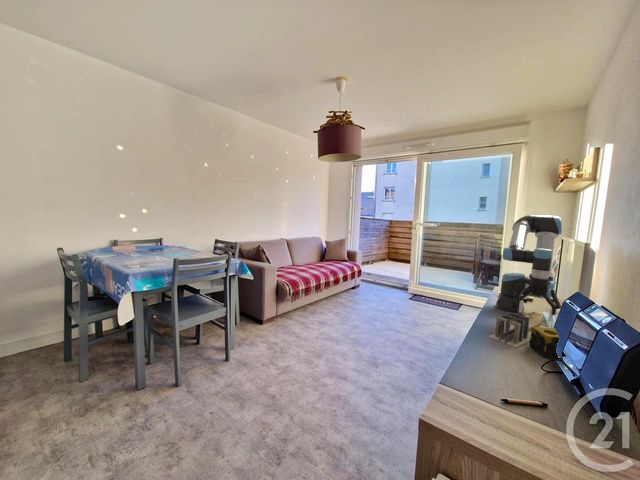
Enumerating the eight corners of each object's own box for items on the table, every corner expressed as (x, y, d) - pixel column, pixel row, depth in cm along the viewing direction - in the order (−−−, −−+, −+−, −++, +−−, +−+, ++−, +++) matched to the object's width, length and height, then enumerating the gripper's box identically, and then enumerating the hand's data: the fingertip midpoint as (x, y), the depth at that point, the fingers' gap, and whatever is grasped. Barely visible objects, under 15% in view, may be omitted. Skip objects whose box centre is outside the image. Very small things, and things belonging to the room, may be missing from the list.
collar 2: (505, 332, 142) (507, 311, 141) (527, 340, 134) (529, 318, 133) (504, 332, 141) (507, 312, 140) (526, 340, 133) (528, 318, 132)
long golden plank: (531, 319, 153) (532, 311, 152) (541, 322, 149) (542, 314, 148) (513, 327, 141) (514, 318, 140) (524, 330, 137) (525, 322, 136)
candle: (551, 348, 126) (554, 327, 125) (569, 360, 116) (572, 337, 115) (528, 346, 127) (530, 326, 126) (543, 358, 117) (546, 335, 116)
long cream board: (524, 321, 157) (525, 316, 157) (550, 329, 147) (551, 324, 147) (489, 337, 135) (490, 331, 135) (517, 348, 125) (517, 341, 125)
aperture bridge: (497, 336, 137) (499, 316, 135) (518, 344, 129) (520, 323, 128) (494, 337, 135) (496, 317, 134) (515, 345, 128) (518, 324, 127)
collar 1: (499, 334, 139) (502, 313, 137) (521, 342, 131) (524, 320, 129) (498, 335, 138) (501, 314, 137) (520, 343, 130) (523, 321, 129)
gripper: (510, 273, 155) (506, 309, 157) (567, 283, 134) (561, 325, 136) (516, 272, 159) (512, 307, 161) (572, 282, 138) (567, 323, 140)
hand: (534, 316), depth 148 cm, fingers open, 13 cm apart
